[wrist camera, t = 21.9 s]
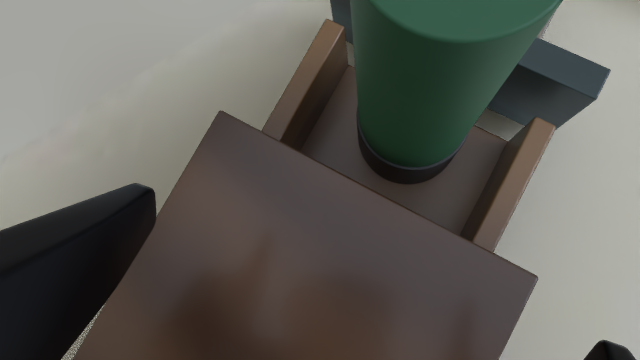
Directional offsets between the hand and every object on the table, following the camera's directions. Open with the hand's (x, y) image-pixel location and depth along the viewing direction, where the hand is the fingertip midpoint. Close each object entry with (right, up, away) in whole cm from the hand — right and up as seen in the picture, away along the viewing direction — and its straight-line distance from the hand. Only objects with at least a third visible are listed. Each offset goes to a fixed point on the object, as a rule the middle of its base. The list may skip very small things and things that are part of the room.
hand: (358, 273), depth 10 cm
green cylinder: (+3, +4, +11) cm, 12 cm away
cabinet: (-2, -5, +12) cm, 13 cm away
